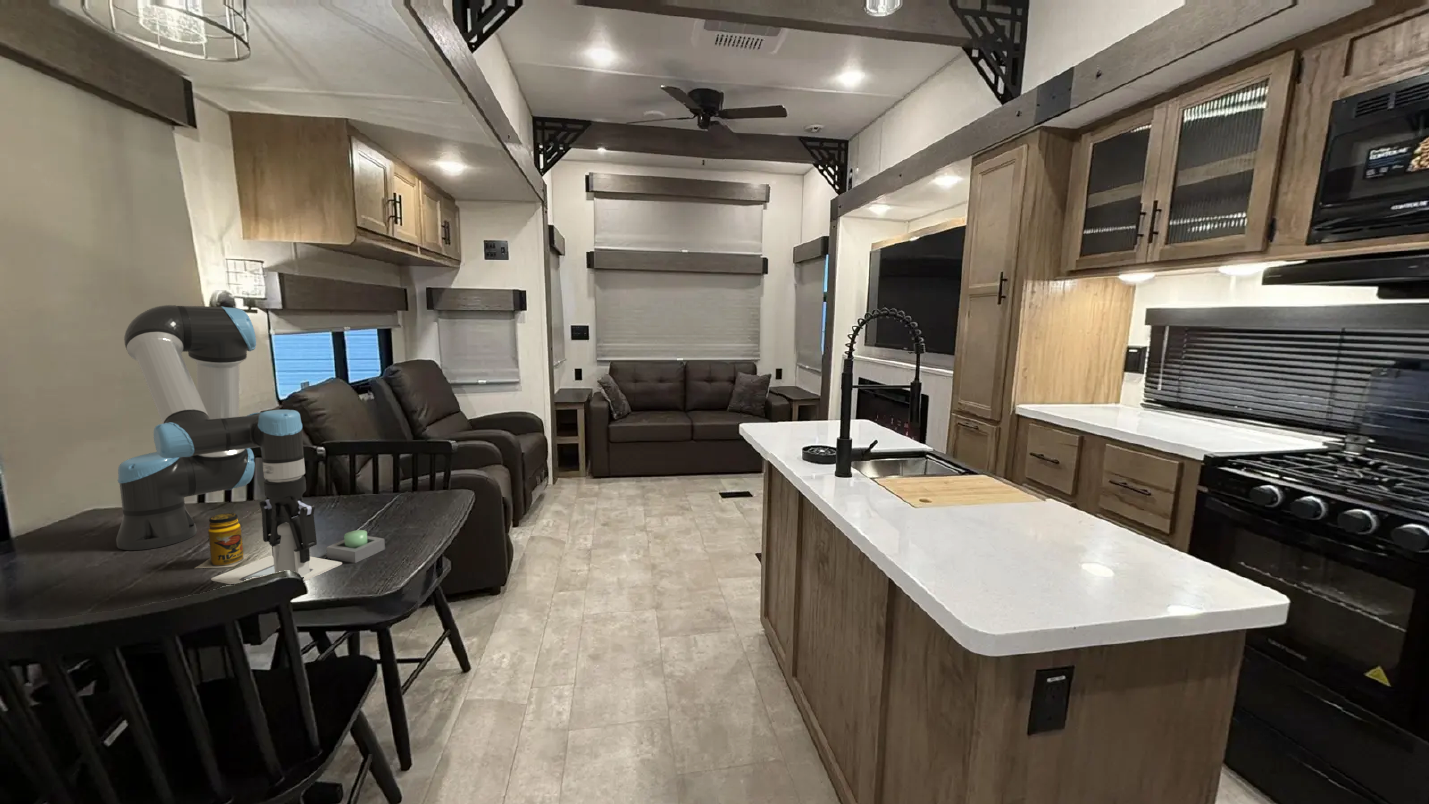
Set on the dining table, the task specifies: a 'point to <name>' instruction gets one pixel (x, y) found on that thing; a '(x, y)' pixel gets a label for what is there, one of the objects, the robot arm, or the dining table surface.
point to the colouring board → (272, 569)
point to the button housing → (355, 550)
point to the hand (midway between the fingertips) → (292, 572)
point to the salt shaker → (286, 548)
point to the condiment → (224, 542)
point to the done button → (355, 539)
